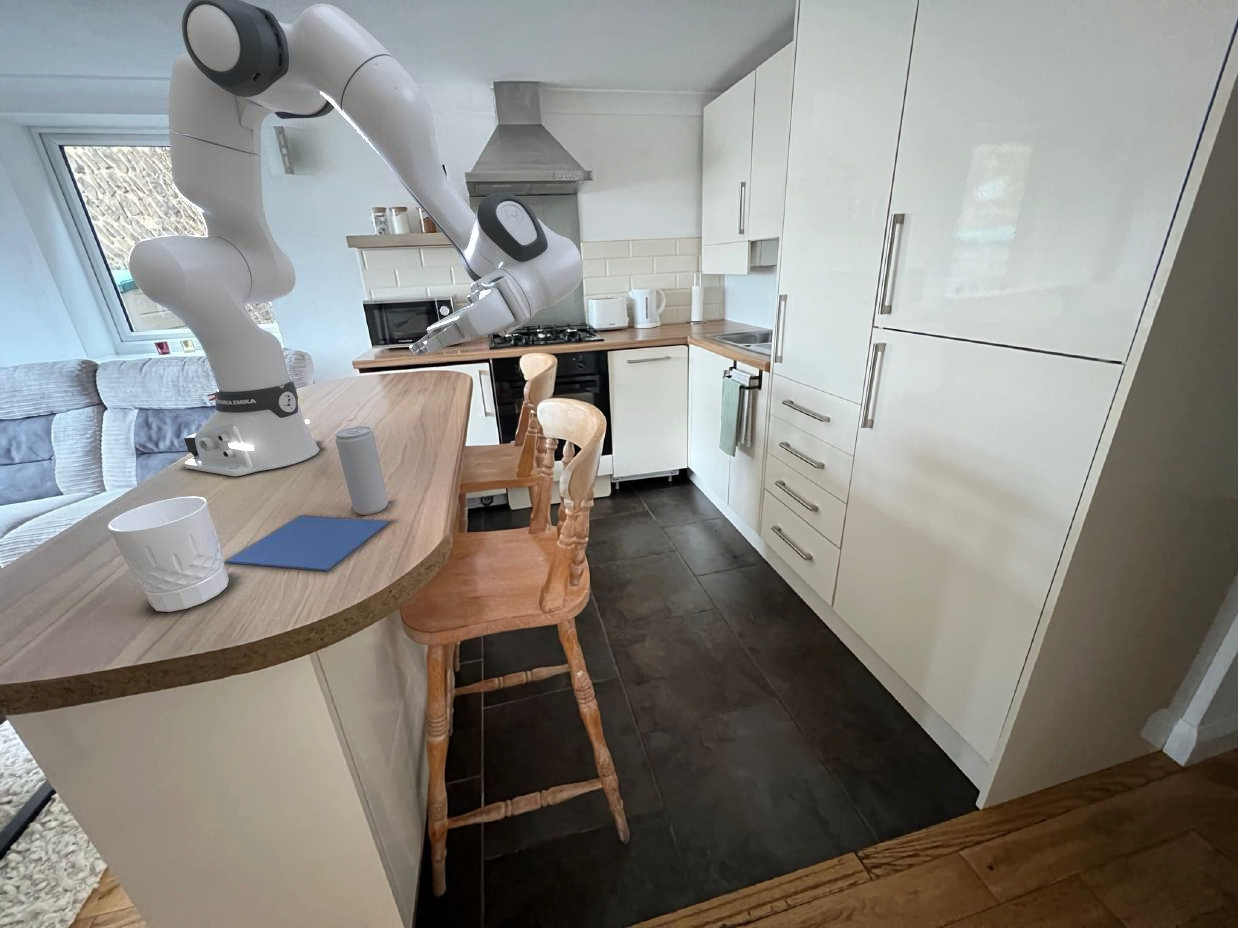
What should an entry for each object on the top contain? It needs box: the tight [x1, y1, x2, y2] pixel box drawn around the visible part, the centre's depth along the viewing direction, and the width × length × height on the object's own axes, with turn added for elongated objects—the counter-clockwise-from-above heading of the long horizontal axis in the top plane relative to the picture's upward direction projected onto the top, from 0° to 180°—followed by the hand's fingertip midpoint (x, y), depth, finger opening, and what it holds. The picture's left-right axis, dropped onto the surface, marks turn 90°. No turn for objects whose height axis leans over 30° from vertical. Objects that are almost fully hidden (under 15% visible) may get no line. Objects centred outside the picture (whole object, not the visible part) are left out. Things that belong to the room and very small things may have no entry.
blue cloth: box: [225, 515, 389, 572], centre depth 66 cm, size 14×12×1 cm
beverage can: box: [335, 426, 389, 516], centre depth 72 cm, size 5×5×12 cm
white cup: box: [107, 496, 230, 613], centre depth 54 cm, size 8×8×10 cm
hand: (419, 350), depth 73 cm, fingers open, 8 cm apart
